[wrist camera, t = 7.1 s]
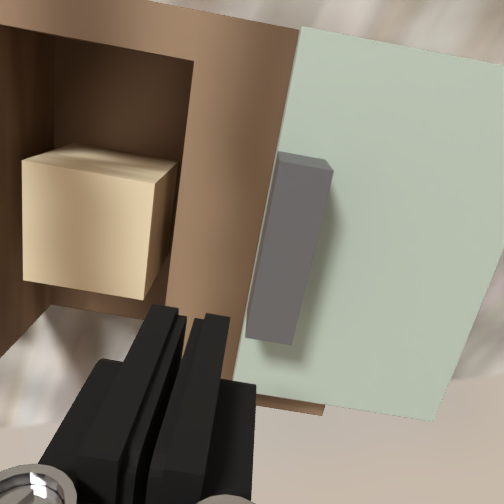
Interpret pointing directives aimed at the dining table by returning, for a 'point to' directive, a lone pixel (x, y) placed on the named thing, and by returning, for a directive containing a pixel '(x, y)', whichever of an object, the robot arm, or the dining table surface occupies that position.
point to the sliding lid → (376, 226)
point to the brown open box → (148, 143)
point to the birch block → (96, 219)
